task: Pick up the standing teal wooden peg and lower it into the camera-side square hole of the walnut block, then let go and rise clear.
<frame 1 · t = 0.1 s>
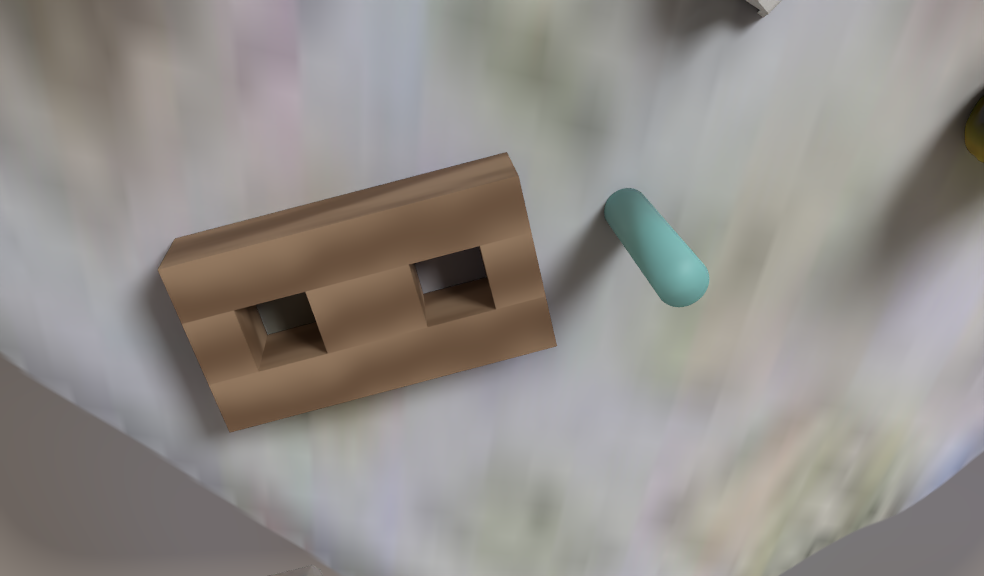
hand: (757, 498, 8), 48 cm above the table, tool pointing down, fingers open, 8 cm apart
hole block: (367, 277, 59), on the table
peg: (625, 209, 59), on the table
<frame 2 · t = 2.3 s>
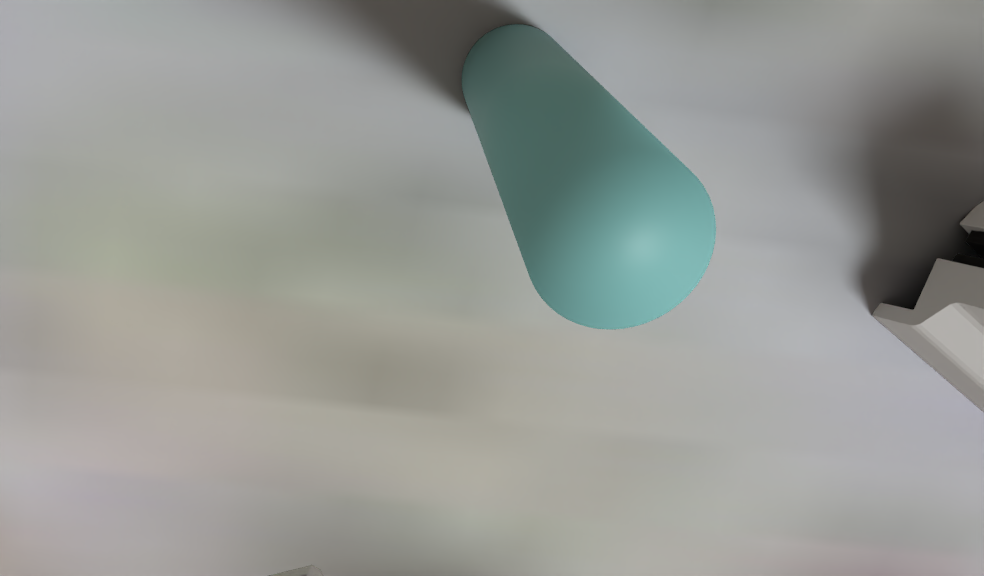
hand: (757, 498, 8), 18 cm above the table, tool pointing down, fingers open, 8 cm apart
peg: (515, 79, 24), on the table
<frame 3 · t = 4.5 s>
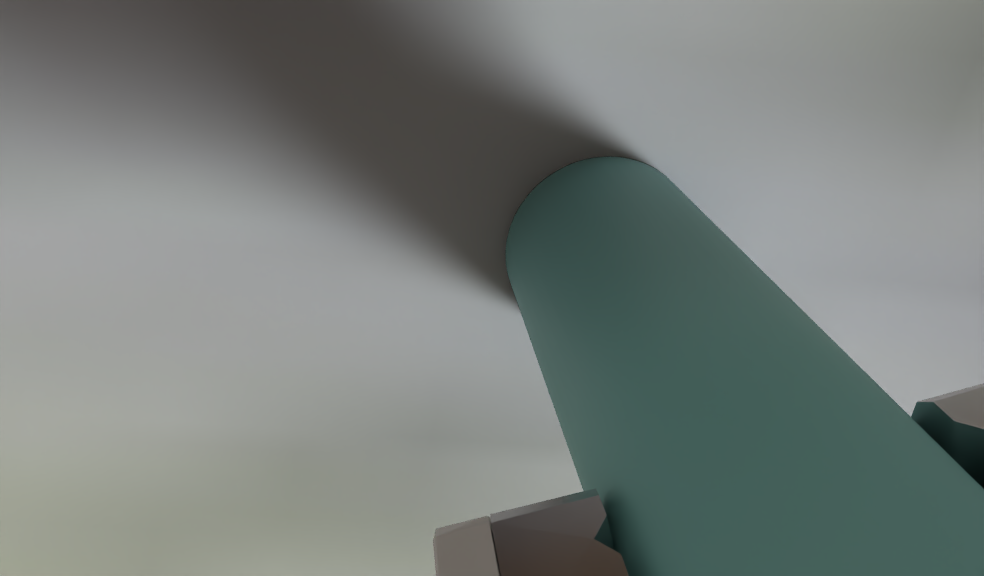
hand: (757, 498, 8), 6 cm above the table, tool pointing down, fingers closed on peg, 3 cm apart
peg: (600, 249, 14), on the table, touching gripper
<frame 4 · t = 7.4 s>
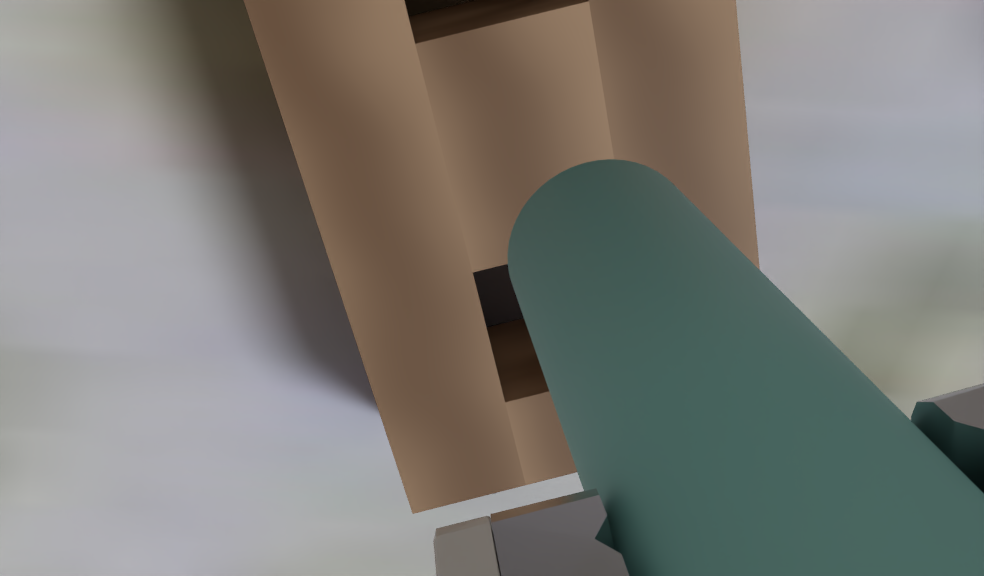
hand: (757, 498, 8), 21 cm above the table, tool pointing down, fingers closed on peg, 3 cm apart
hole block: (502, 102, 28), on the table
peg: (602, 252, 14), point 15 cm above the table, touching gripper
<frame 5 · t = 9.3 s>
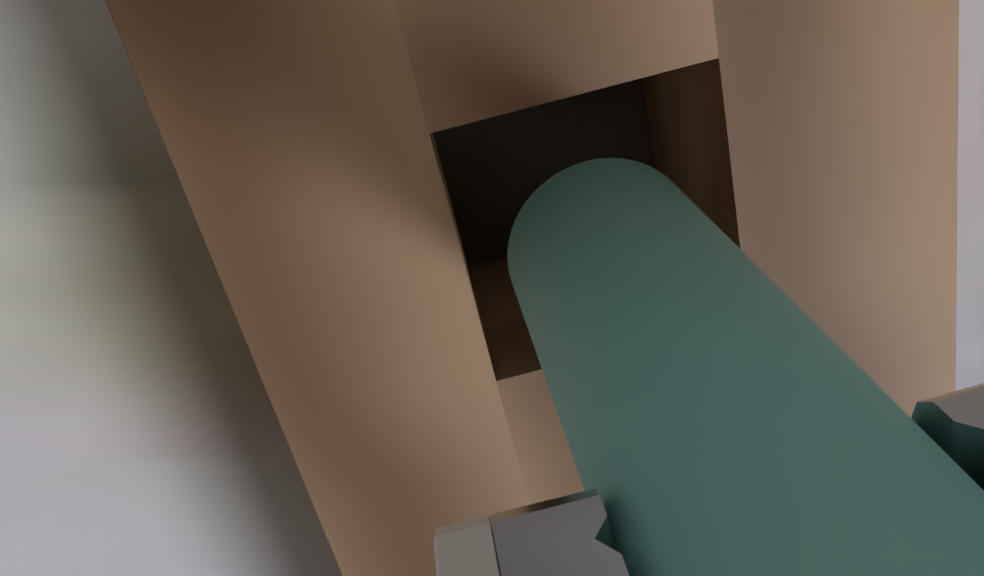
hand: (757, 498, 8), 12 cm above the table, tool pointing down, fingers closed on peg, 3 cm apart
hole block: (590, 361, 21), on the table
peg: (602, 250, 14), point 6 cm above the table, touching gripper
when the fingers open (8 cm above the table, at t = 10.7 s): peg drops 1 cm, resting in hole block.
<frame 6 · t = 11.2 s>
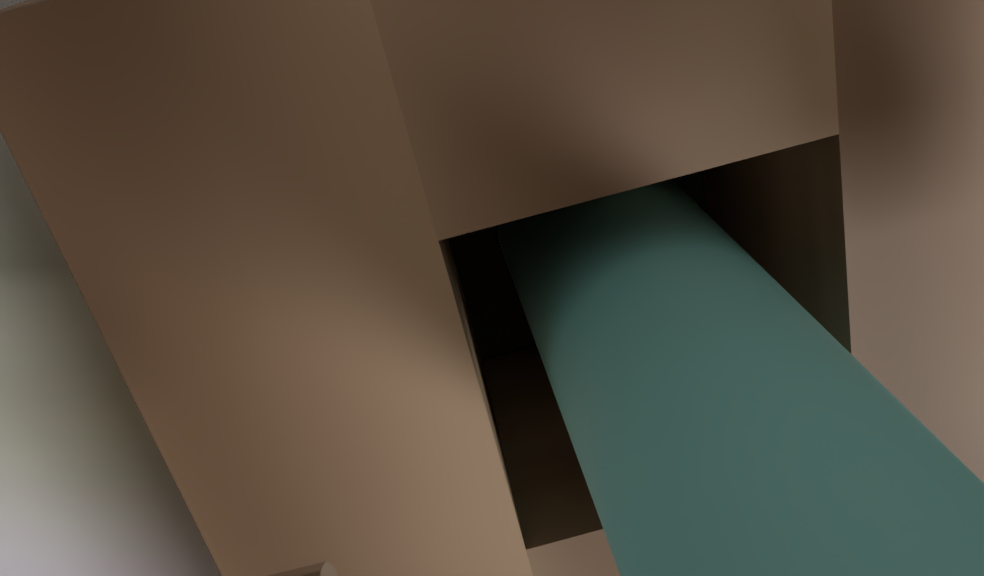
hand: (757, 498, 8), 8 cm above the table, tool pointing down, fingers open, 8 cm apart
hole block: (629, 468, 17), on the table
peg: (583, 218, 15), resting in hole block
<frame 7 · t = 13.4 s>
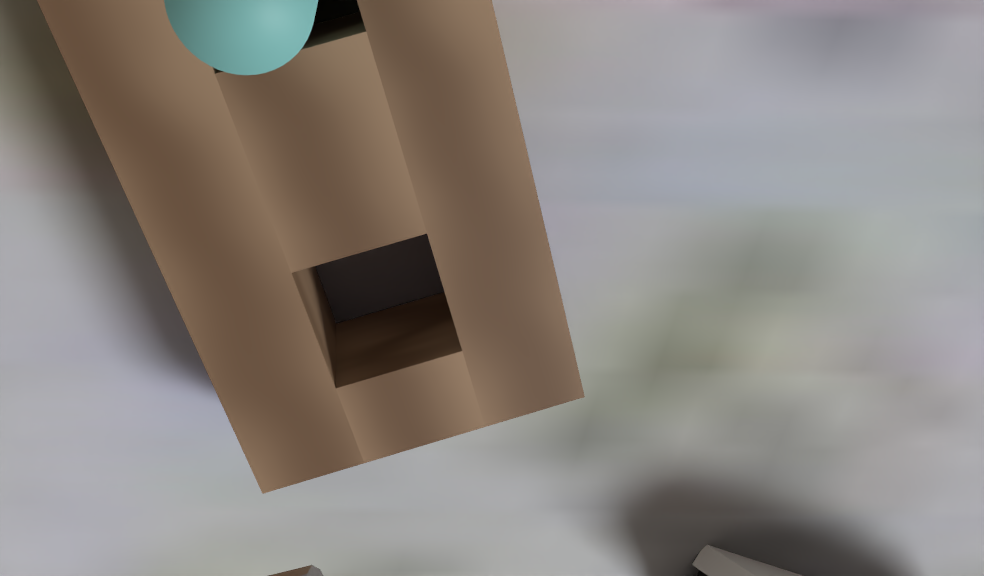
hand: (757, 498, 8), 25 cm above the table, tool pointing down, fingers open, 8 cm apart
hole block: (328, 120, 31), on the table
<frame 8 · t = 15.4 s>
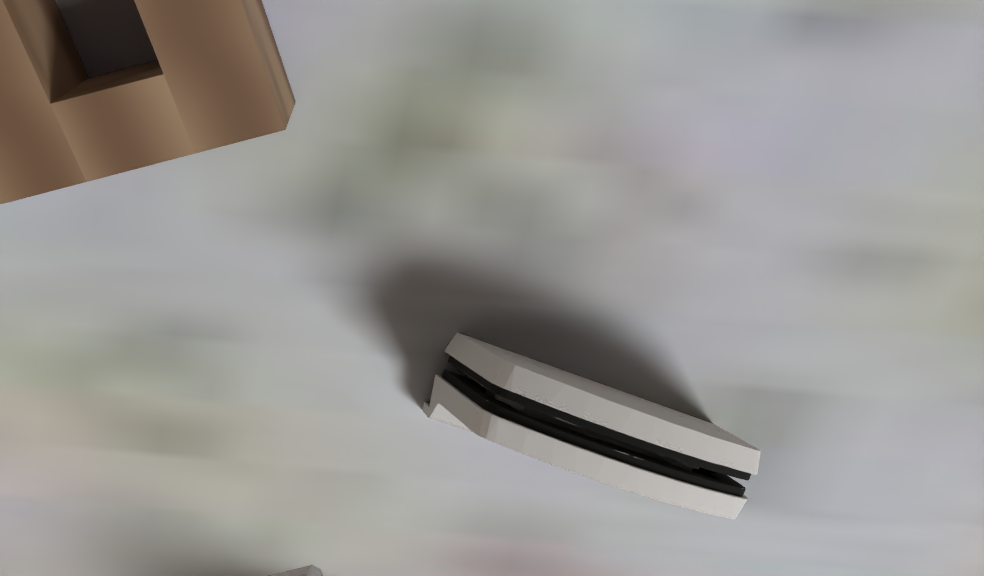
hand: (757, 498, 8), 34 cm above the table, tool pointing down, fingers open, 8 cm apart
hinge: (580, 393, 49), on the table
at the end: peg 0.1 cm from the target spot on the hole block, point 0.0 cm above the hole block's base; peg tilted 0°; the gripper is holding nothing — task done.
